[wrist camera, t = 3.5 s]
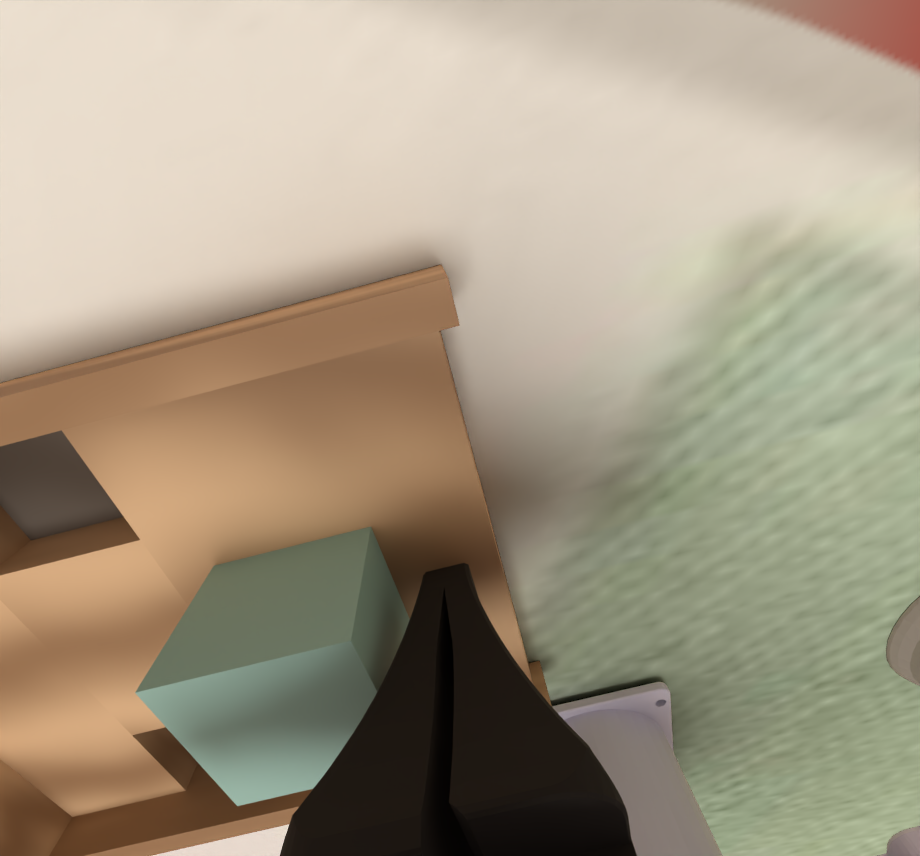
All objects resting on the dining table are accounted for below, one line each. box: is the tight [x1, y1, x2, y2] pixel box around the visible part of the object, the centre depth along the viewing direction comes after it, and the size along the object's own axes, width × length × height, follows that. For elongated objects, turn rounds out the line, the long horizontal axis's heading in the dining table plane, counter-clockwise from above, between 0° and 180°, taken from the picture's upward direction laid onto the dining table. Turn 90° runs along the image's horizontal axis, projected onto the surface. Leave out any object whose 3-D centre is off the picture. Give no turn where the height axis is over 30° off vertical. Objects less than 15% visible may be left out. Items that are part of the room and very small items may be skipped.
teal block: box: [135, 527, 410, 806], centre depth 12 cm, size 5×5×4 cm
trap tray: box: [0, 265, 552, 856], centre depth 14 cm, size 18×22×4 cm
